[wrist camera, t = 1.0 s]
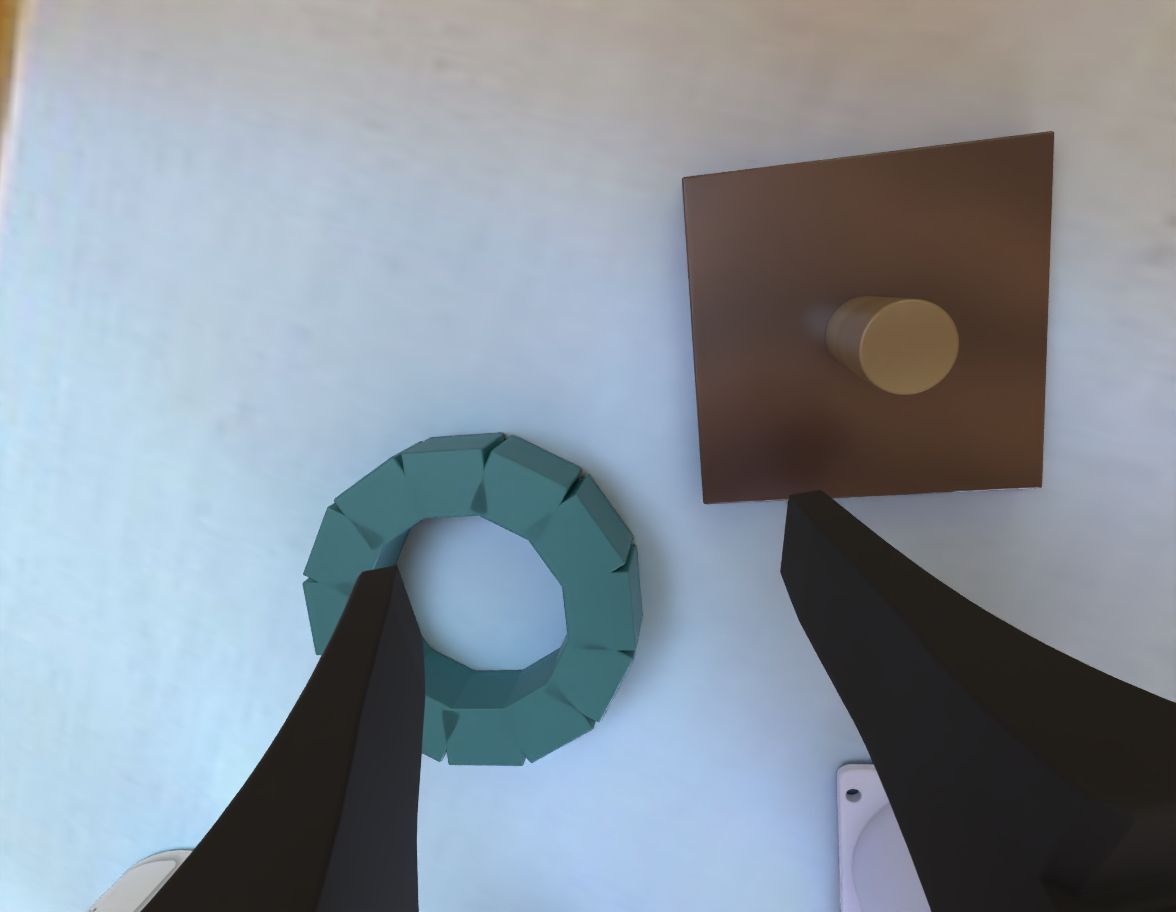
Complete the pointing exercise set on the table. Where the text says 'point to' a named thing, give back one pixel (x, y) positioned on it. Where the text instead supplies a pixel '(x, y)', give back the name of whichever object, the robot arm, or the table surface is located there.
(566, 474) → the ring
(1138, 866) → the robot arm
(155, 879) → the mug
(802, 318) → the stand
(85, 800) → the table surface
